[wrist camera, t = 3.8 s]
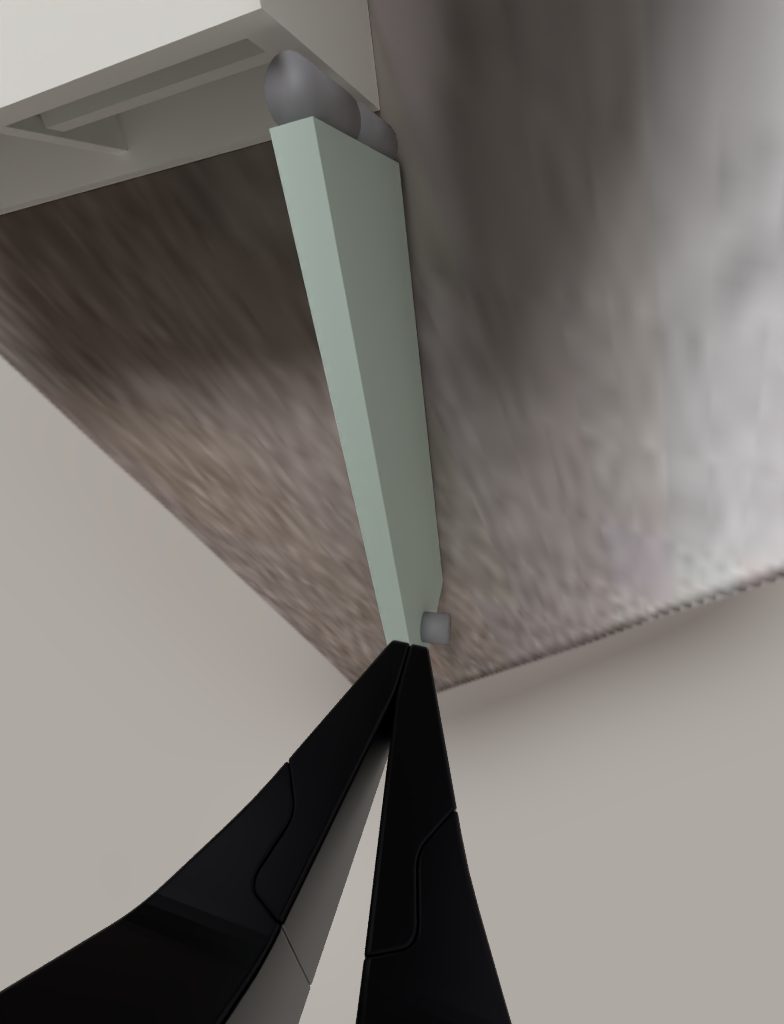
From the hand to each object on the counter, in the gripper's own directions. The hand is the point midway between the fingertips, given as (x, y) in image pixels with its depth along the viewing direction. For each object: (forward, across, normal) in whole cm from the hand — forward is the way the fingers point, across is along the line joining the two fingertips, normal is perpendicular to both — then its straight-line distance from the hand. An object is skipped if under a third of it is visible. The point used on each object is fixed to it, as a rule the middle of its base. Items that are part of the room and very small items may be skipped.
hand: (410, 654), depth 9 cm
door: (+12, +2, -1) cm, 12 cm away
